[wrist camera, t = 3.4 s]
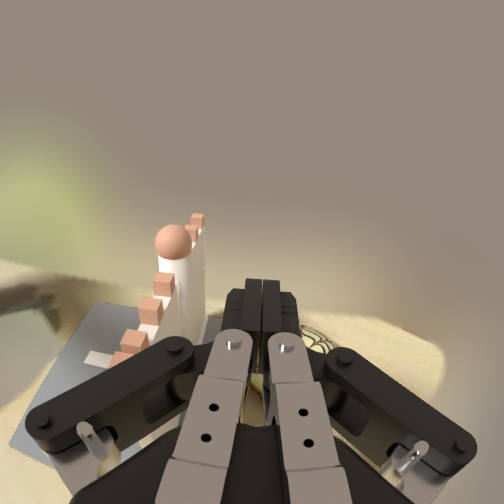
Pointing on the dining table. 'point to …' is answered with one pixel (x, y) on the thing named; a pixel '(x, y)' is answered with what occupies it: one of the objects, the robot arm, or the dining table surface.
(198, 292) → the fence post and fixed panel
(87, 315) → the card
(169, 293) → the white crenellated wall panel
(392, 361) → the dining table surface
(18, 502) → the dining table surface
